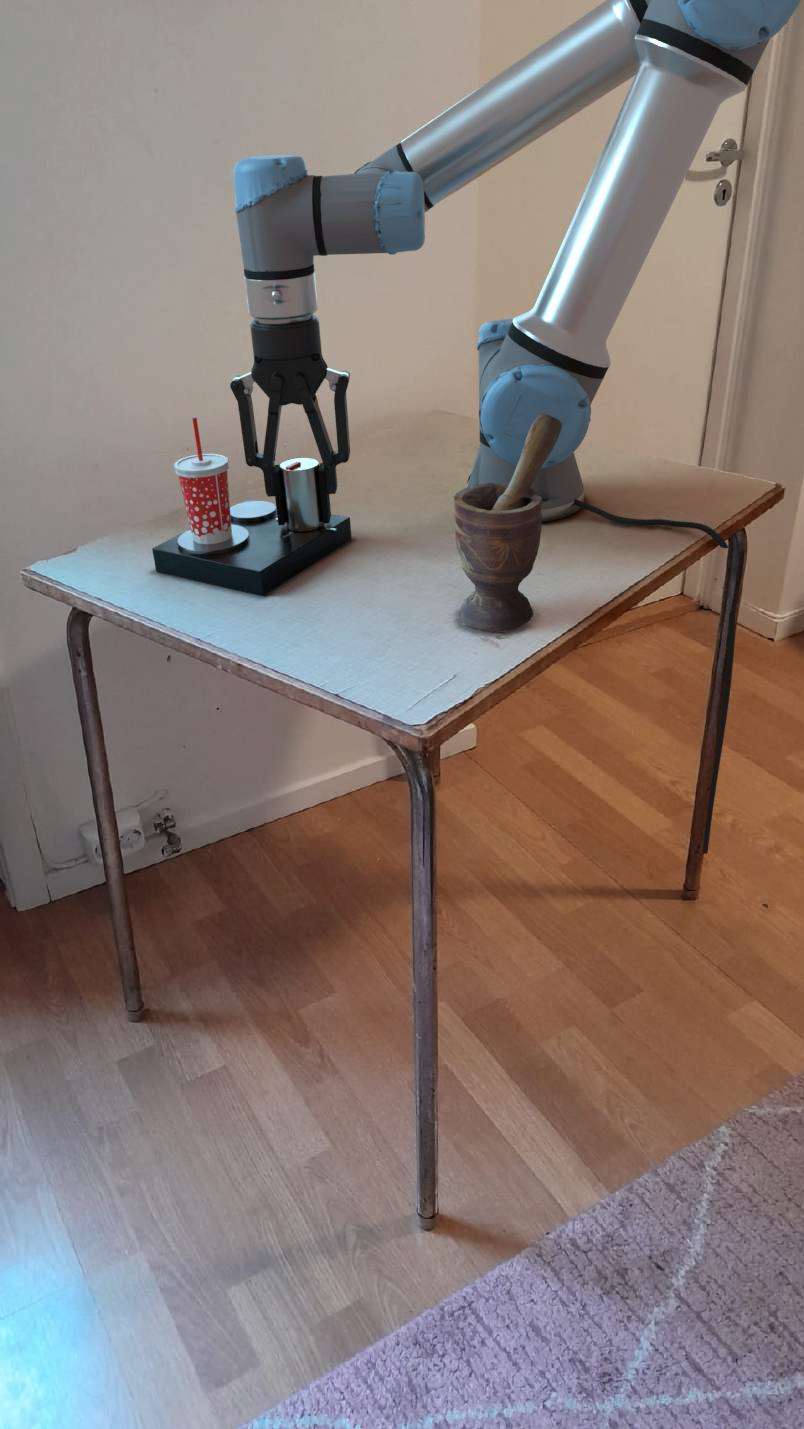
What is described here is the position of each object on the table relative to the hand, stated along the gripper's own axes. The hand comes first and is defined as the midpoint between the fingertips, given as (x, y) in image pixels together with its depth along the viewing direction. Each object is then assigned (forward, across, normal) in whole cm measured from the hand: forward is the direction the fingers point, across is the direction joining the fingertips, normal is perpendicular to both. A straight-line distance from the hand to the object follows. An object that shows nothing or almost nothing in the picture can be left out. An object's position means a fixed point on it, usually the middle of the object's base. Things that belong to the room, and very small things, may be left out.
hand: (304, 519), depth 126 cm
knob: (+1, 0, 0) cm, 1 cm away
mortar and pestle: (+4, +23, -19) cm, 30 cm away
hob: (+4, -6, -2) cm, 7 cm away
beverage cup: (0, -10, -4) cm, 11 cm away
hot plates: (+1, -9, -1) cm, 9 cm away
